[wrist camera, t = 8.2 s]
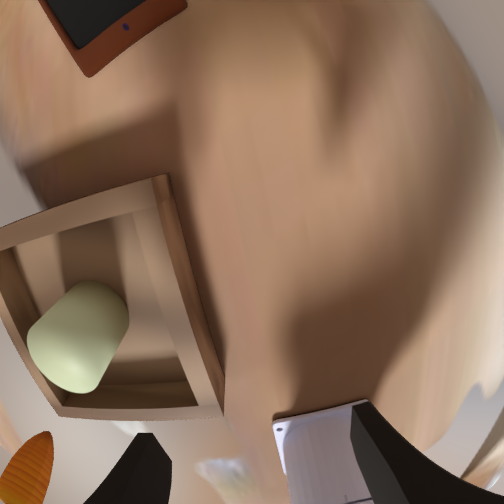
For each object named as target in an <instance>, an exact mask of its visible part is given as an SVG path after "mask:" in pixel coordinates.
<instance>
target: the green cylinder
mask: <svg viewBox="0 0 504 504" xmlns="http://www.w3.org/2000/svg"><path fill="white" fill-rule="evenodd" d="M128 327H129V313H128V310H127V307H126V305H125V303H124V301H123V300H122V298H121V297H120V296H119V295H118V293H117V292H115V291H114V290H113V289H112V288H111V287H109V286H108V285H106V284H104V283H102V282H99V281H95V280H84V281H81V282H79V283H77V284H76V285H74V286H73V287H72V288H71V289H70V290H69V291H68V292H67V293H66V294H65V295H64V296H63V297H62V298H60V299H59V300H58V301H57V302H56V303H55V304H54V305H53V306H52V307H51V308H50V309H49V310H48V311H47V312H46V313H45V314H44V315H43V316H42V317H41V318H40V319H39V320H38V321H37V322H36V323H35V324H34V325H33V326H32V327H31V328H30V330H29V331H28V335H27V345H28V350H29V353H30V355H31V357H32V359H33V361H34V363H35V364H36V366H37V367H38V369H39V370H40V371H41V372H42V373H43V374H44V375H45V376H46V377H47V378H48V379H49V380H50V381H52V382H53V383H54V384H56V385H57V386H59V387H61V388H63V389H65V390H67V391H70V392H74V393H88V392H91V391H93V390H94V389H95V388H96V387H97V386H98V384H99V382H100V380H101V378H102V376H103V374H104V372H105V371H106V369H107V367H108V365H109V363H110V361H111V359H112V358H113V356H114V354H115V352H116V350H117V348H118V347H119V345H120V343H121V341H122V339H123V338H124V336H125V334H126V332H127V330H128Z"/></svg>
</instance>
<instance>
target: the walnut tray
mask: <svg viewBox="0 0 504 504" xmlns="http://www.w3.org/2000/svg"><path fill="white" fill-rule="evenodd" d="M84 280H95V281H99V282H102V283H104V284H106V285H108V286H109V287H111V288H112V289H113V290H114V291H115V292H117V293H118V295H119V296H120V297H121V298H122V300H123V301H124V303H125V305H126V307H127V310H128V313H129V327H128V330H127V332H126V334H125V336H124V338H123V339H122V341H121V343H120V345H119V347H118V348H117V350H116V352H115V354H114V356H113V358H112V359H111V361H110V363H109V365H108V367H107V369H106V371H105V372H104V374H103V376H102V378H101V380H100V382H99V384H98V386H97V387H96V388H95V389H94V390H93V391H91V392H88V393H74V392H70V391H67V390H65V389H63V388H61V387H59V386H57V385H56V384H54V383H53V382H52V381H50V380H49V379H48V378H47V377H46V376H45V375H44V374H43V373H42V372H41V371H40V370H39V369H38V367H37V366H36V364H35V363H34V361H33V359H32V357H31V355H30V353H29V350H28V345H27V335H28V331H29V330H30V328H31V327H32V326H33V325H34V324H35V323H36V322H37V321H38V320H39V319H40V318H41V317H42V316H43V315H44V314H45V313H46V312H47V311H48V310H49V309H50V308H51V307H52V306H53V305H54V304H55V303H56V302H57V301H58V300H59V299H60V298H62V297H63V296H64V295H65V294H66V293H67V292H68V291H69V290H70V289H71V288H72V287H73V286H74V285H76V284H77V283H79V282H81V281H84ZM0 317H1V319H2V321H3V324H4V326H5V328H6V329H7V332H8V334H9V336H10V338H11V340H12V342H13V344H14V345H15V347H16V349H17V351H18V353H19V355H20V356H21V358H22V360H23V362H24V363H25V365H26V367H27V369H28V370H29V372H30V374H31V375H32V377H33V379H34V380H35V382H36V383H37V385H38V387H39V388H40V389H41V391H42V393H43V394H44V396H45V397H46V398H47V400H48V402H49V403H50V404H51V406H52V407H53V409H54V410H55V411H56V413H57V414H58V416H61V417H70V418H83V419H95V420H116V421H166V420H187V419H201V418H213V417H223V416H224V393H225V378H224V375H223V372H222V369H221V366H220V363H219V360H218V357H217V353H216V350H215V347H214V344H213V340H212V337H211V334H210V331H209V327H208V324H207V320H206V317H205V314H204V310H203V307H202V303H201V300H200V296H199V293H198V289H197V285H196V282H195V278H194V274H193V271H192V267H191V263H190V259H189V255H188V251H187V248H186V244H185V240H184V236H183V232H182V227H181V223H180V219H179V215H178V211H177V206H176V202H175V198H174V193H173V189H172V184H171V180H170V175H169V173H166V174H162V175H158V176H154V177H150V178H147V179H143V180H139V181H135V182H132V183H128V184H125V185H121V186H118V187H114V188H111V189H108V190H104V191H101V192H98V193H94V194H91V195H88V196H85V197H82V198H79V199H76V200H73V201H70V202H67V203H64V204H61V205H58V206H55V207H52V208H50V209H47V210H44V211H41V212H39V213H36V214H33V215H31V216H28V217H26V218H23V219H20V220H18V221H15V222H13V223H11V224H8V225H5V226H3V227H1V228H0Z"/></svg>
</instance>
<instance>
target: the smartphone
mask: <svg viewBox="0 0 504 504" xmlns="http://www.w3.org/2000/svg"><path fill="white" fill-rule="evenodd" d="M38 1H39V3H40V4H41V6H42V8H43V10H44V11H45V13H46V15H47V16H48V18H49V20H50V21H51V23H52V25H53V26H54V28H55V30H56V31H57V33H58V35H59V36H60V38H61V39H62V41H63V43H64V44H65V46H66V48H67V49H68V51H69V52H70V54H71V55H72V57H73V59H74V60H75V62H76V63H77V65H78V66H79V68H80V69H81V70H82V72H83V73H84V75H85V76H86V77H92V76H94V75H95V74H96V73H98V72H99V71H100V70H101V69H102V68H103V67H105V66H106V65H107V64H108V63H109V62H111V61H112V60H113V59H114V58H116V57H117V56H118V55H119V54H121V53H122V52H123V51H125V50H126V49H127V48H128V47H130V46H131V45H132V44H134V43H135V42H137V41H138V40H139V39H141V38H142V37H143V36H145V35H146V34H148V33H149V32H151V31H152V30H154V29H155V28H157V27H158V26H160V25H161V24H163V23H164V22H166V21H167V20H169V19H170V18H172V17H174V16H175V15H177V14H179V13H180V12H182V11H183V10H185V9H186V8H187V2H186V1H185V0H38Z"/></svg>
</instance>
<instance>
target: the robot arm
mask: <svg viewBox="0 0 504 504" xmlns="http://www.w3.org/2000/svg"><path fill="white" fill-rule="evenodd" d="M272 427H273V431H274V435H275V439H276V443H277V447H278V451H279V455H280V459H281V463H282V467H283V471H284V474H286V476H287V483H288V490H289V497H290V504H504V496H501V495H498V494H495V493H492V492H490V491H487V490H484V489H482V488H479V487H477V486H475V485H473V484H470V483H468V482H466V481H464V480H462V479H460V478H458V477H456V476H455V475H453V474H451V473H449V472H448V471H446V470H444V469H443V468H442V467H440V466H438V465H437V464H435V463H434V462H433V461H431V460H430V459H428V458H427V457H426V456H425V455H423V454H422V453H421V452H420V451H419V450H417V449H416V448H415V447H414V446H413V445H411V444H410V443H409V442H408V441H407V440H406V439H405V438H404V437H403V436H402V435H401V434H399V433H398V432H397V431H396V430H395V429H394V428H393V427H392V426H391V425H390V424H389V422H388V421H387V420H386V419H385V418H384V417H383V416H382V415H381V414H380V413H379V412H378V410H377V409H376V408H375V407H374V406H373V404H372V403H371V402H369V401H368V400H366V399H364V400H360V401H357V402H353V403H350V404H346V405H342V406H338V407H334V408H330V409H326V410H322V411H317V412H313V413H308V414H303V415H298V416H293V417H288V418H282V419H277V420H275V421H273V422H272ZM171 478H172V461H171V459H170V458H169V456H168V455H167V454H166V452H165V451H164V449H163V448H162V447H161V445H160V444H159V442H158V441H157V439H156V438H155V436H154V435H153V433H138V434H137V435H136V436H135V438H134V439H133V441H132V442H131V444H130V445H129V446H128V448H127V449H126V451H125V452H124V454H123V455H122V457H121V458H120V459H119V461H118V462H117V464H116V465H115V466H114V468H113V469H112V470H111V472H110V473H109V474H108V476H107V477H106V478H105V480H104V481H103V482H102V483H101V484H100V486H99V487H98V488H97V489H96V490H95V492H94V493H93V494H92V495H91V496H90V497H89V498H88V499H87V500H86V501H85V502H84V503H83V504H168V502H169V496H170V489H171Z"/></svg>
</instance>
